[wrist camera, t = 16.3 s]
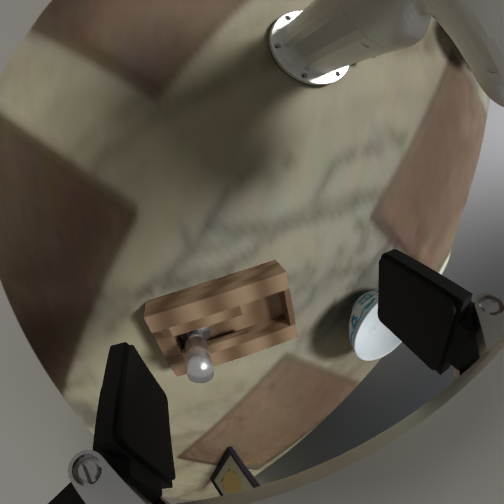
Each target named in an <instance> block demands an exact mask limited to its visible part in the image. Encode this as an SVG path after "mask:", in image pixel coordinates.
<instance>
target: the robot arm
mask: <svg viewBox="0 0 504 504" xmlns="http://www.w3.org/2000/svg"><path fill="white" fill-rule="evenodd" d="M431 16H432V17H433V18H434V19H435V20H436V21H437V22H438V23H439V24H440V25H441V26H442V28H443V29H444V30H445V32H446V33H447V34H448V35H449V36H450V38H451V39H452V41H453V42H454V44H455V45H456V47H457V48H458V50H459V51H460V53H461V54H462V56H463V58H464V59H465V61H466V63H467V64H468V66H469V68H470V69H471V71H472V73H473V74H474V76H475V78H476V79H477V81H478V83H479V84H480V86H481V88H482V89H483V90H484V92H485V93H486V94H487V95H488V96H489V97H490V98H491V99H492V100H493V101H494V102H496V103H497V104H499V105H500V106H503V107H504V0H315V1H314V2H313V3H311V4H310V5H309V6H308V7H307V8H305V9H304V10H303V11H293V12H288V13H286V14H284V15H282V16H281V17H280V18H279V19H277V21H276V22H275V23H274V24H273V26H272V28H271V30H270V34H269V46H270V50H271V53H272V55H273V57H274V59H275V60H276V62H277V63H278V65H279V66H280V67H281V68H282V69H283V70H284V71H285V72H286V73H287V74H289V75H290V76H291V77H293V78H295V79H296V80H298V81H301V82H303V83H306V84H311V85H327V84H330V83H333V82H335V81H337V80H339V79H340V78H342V77H343V76H344V75H345V73H346V72H347V70H348V67H349V65H351V64H354V63H357V62H360V61H363V60H366V59H369V58H375V57H376V56H378V55H382V54H385V53H389V52H392V51H396V50H399V49H403V48H407V47H410V46H412V45H414V44H416V43H418V42H419V41H420V40H421V39H422V38H423V37H424V35H425V33H426V32H427V30H428V27H429V24H430V20H431ZM275 47H277V48H275ZM301 75H302V76H303V77H302V76H301ZM471 298H472V293H470V292H468V291H467V290H465V289H464V288H462V287H460V286H459V285H457V284H455V283H454V282H452V281H451V280H449V279H447V278H446V277H444V276H442V275H441V274H439V273H437V272H436V271H434V270H432V269H431V268H429V267H427V266H425V265H424V264H422V263H420V262H418V261H417V260H415V259H413V258H411V257H409V256H408V255H406V254H404V253H402V252H400V251H398V250H396V249H393V250H391V251H389V252H386V253H384V254H383V255H382V256H381V259H380V260H379V290H378V313H377V314H378V318H379V320H380V322H381V323H382V324H383V325H384V326H386V327H387V328H388V329H389V330H390V331H391V332H392V333H393V334H394V335H395V336H396V337H397V338H399V339H400V340H401V341H402V342H403V343H404V344H405V345H406V346H407V347H408V348H409V349H410V350H412V352H414V353H415V354H416V355H417V356H418V357H419V358H420V359H421V360H422V361H423V362H424V363H425V364H426V365H427V366H428V367H429V368H430V369H432V370H436V371H437V372H438V373H439V374H442V373H443V372H444V371H445V370H447V369H448V368H449V367H450V365H452V366H454V374H455V381H454V382H453V383H451V384H450V385H449V386H448V387H447V388H445V389H444V390H443V391H442V392H440V393H439V394H438V395H437V396H435V397H434V398H433V399H431V400H430V401H429V402H427V403H426V404H425V405H423V406H422V407H421V408H419V409H418V410H416V411H415V412H414V413H412V414H411V415H409V416H408V417H406V418H405V419H403V420H402V421H400V422H399V423H397V424H396V425H394V426H392V427H391V428H389V429H387V430H386V431H384V432H383V433H381V434H379V435H378V436H376V437H374V438H372V439H370V440H369V441H367V442H365V443H363V444H361V445H359V446H358V447H356V448H354V449H352V450H350V451H348V452H346V453H344V454H342V455H340V456H338V457H336V458H333V459H331V460H329V461H327V462H325V463H322V464H320V465H318V466H315V467H313V468H310V469H308V470H305V471H303V472H300V473H298V474H295V475H292V476H290V477H287V478H284V479H281V480H278V481H275V482H272V483H269V484H265V485H262V486H259V487H255V488H252V489H248V490H244V491H240V492H236V493H232V494H227V495H223V496H219V497H214V498H209V499H204V500H198V501H192V502H185V503H178V504H504V299H502V298H501V297H500V296H498V295H496V294H493V293H482V294H479V295H478V296H477V297H476V298H475V301H474V303H473V302H471ZM68 475H69V478H70V481H71V482H70V483H69V484H68V485H67V486H66V487H65V488H64V489H63V490H62V491H61V492H60V493H59V494H58V495H57V496H56V497H55V498H54V499H53V500H52V501H50V502H49V503H48V504H170V503H169V502H168V501H166V500H165V499H164V498H163V497H162V489H163V488H172V487H173V486H172V480H174V479H175V469H174V462H173V454H172V445H171V436H170V425H169V413H168V401H167V397H166V394H165V393H164V391H163V390H162V388H161V387H160V385H159V384H158V382H157V381H156V380H155V378H154V377H153V375H152V374H151V372H150V371H149V369H148V368H147V366H146V365H145V363H144V361H143V360H142V358H141V357H140V355H139V353H138V352H137V350H136V349H135V347H134V346H133V345H129V344H128V343H126V342H124V343H120V344H116V345H112V346H111V347H110V350H109V355H108V359H107V364H106V369H105V374H104V379H103V385H102V388H101V392H100V397H99V404H98V410H97V417H96V425H95V433H94V443H93V450H84V451H81V452H79V453H77V454H76V455H75V456H74V457H73V458H72V460H71V462H70V463H69V467H68Z"/></svg>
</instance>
